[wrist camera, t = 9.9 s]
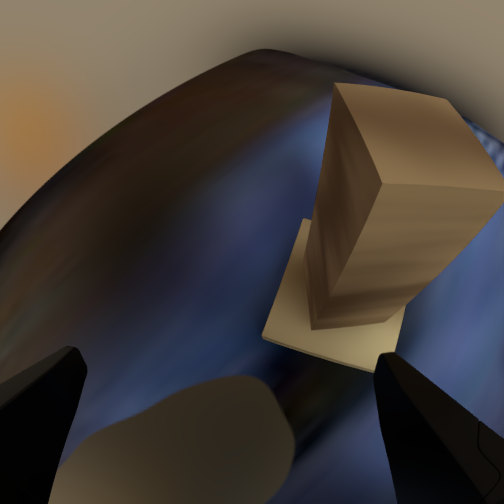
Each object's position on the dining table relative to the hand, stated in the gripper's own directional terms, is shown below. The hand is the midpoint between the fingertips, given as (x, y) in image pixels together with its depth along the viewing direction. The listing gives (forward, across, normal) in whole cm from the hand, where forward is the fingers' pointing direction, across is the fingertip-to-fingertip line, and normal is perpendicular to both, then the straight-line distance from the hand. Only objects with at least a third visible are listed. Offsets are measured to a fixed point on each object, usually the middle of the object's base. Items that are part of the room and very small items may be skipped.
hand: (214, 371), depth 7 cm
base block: (+13, -6, +7) cm, 16 cm away
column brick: (+11, -6, +4) cm, 13 cm away
